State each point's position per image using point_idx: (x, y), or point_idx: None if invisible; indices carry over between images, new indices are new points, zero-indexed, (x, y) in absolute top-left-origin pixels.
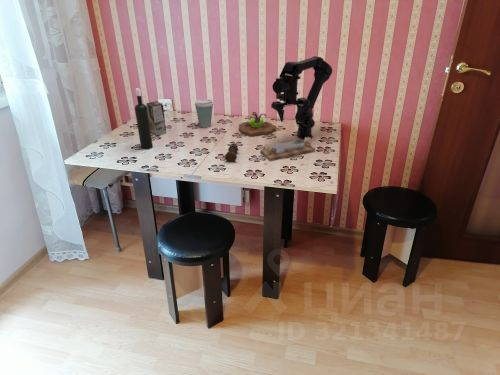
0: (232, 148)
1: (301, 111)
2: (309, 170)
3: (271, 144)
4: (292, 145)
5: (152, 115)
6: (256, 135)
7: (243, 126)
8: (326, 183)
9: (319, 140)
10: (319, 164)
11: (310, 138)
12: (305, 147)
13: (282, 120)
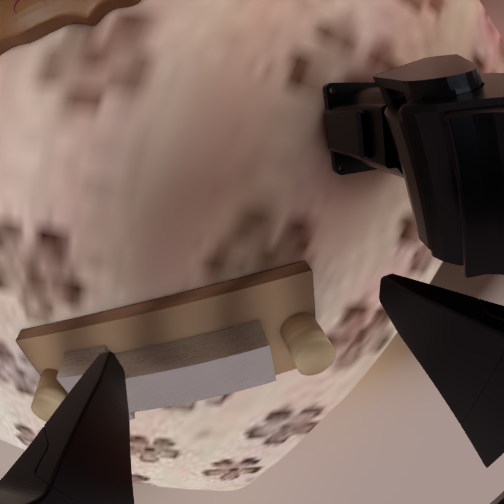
0: None
1: (460, 409)
2: (216, 454)
3: (60, 380)
4: (190, 398)
5: None
6: (11, 45)
7: None
8: (235, 482)
9: (406, 219)
10: (266, 431)
11: (330, 364)
12: (277, 347)
13: (120, 401)
